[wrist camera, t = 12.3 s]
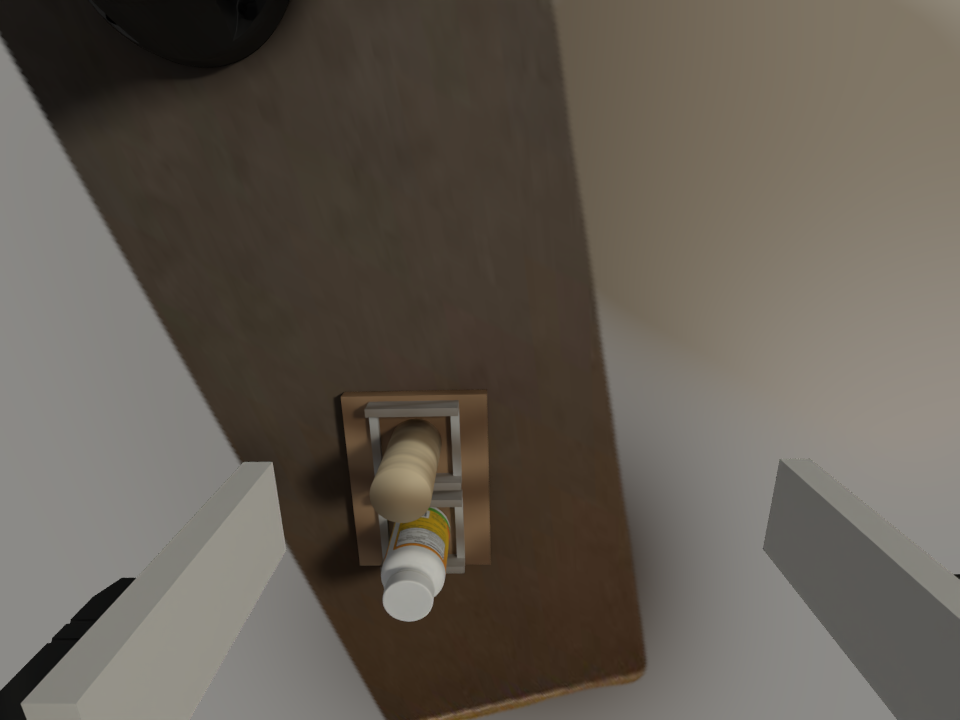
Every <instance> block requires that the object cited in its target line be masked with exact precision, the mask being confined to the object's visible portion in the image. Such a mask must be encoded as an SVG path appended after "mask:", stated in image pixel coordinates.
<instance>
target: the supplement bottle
mask: <svg viewBox="0 0 960 720" xmlns="http://www.w3.org/2000/svg"><path fill="white" fill-rule="evenodd" d="M449 538H450V524H449V521H448V519H447V517H446V516H445V514H444V513H443V512H442V511H441V510H439V509H438V508H436V507H431V508H428V510H427V512H426V513H425V514H424V515H423V516H422V517H420V518H419V519H417V520H415V521H412V522H408V523H397V522H395V524H394V527H393V531H392V534H391V538H390V541H389V545H388V548H387V552H386V555H385V558H384V562H383V566H382V570H381V579H382V584H383V586H384V588H385V589H384V594H383V605H384V608H385V609H386V611H387V612H388V613H389V614H390V615H391V616H392V617H394V618H396V619H398V620H401V621H416V620H419V619H421V618H423V617H425V616H426V615H427V614H428V613H429V612H430V610H431V608H432V606H433V600H434V597H435V596H436V595H437V594H438V593H439V592H440V590H441V589H442V587H443V584H444V581H445V574H446V565H447V557H448V547H449Z"/></svg>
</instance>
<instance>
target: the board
mask: <svg viewBox="0 0 960 720" xmlns="http://www.w3.org/2000/svg"><path fill="white" fill-rule="evenodd" d="M341 404H342V413H343V422H344V431H345V439H346V448H347V457H348V465H349V474H350V483H351V491H352V500H353V509H354V518H355V526H356V535H357V544H358V552H359V561H360V566H378V565H381V567H380V569H381V570H382V566H383V562H384V558H385V555H386V552H387V548H388V545H389V541H390V538H391V534H392V531H393V527H394V524H395V522H392V521H389V520H387V519H385V518H383V517H382V516H380V515H379V514H378V513H377V512H376V511H375V509H374V508H373V506H372V504H371V501H370V488H371V485H372V482H373V480H374V478H375V475H376V473H377V470H378V468H379V465H380V463H381V461H382V458H383V456H384V453H385V451H386V448H387V446H388V444H389V441H390V439H391V436H392V434H393V432H394V430H395V428H396V427H397V426H398V425H399V424H400V423H402V422H403V421H405V420H408V419H415V418H416V419H423V420H426V421H428V422H430V423H432V424H433V425H434V426H435V427H436V428H437V429H438V431H439V433H440V435H441V439H442V446H441V451H440V457H439V462H438V467H437V472H436V478H435V483H434V488H433V493H432V499H431V504H430V506H429V508H431V507H436V508H438V509H439V510H441V511H442V512H443V513H444V514H445V516H446V517H447V519H448V521H449V524H450V538H449V547H448V557H447V565H446V573H465V565H471V564H491V549H490V505H489V461H488V416H487V389H486V390H431V391H377V392H344V393H343V394H342V396H341Z"/></svg>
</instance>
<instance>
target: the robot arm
mask: <svg viewBox="0 0 960 720" xmlns="http://www.w3.org/2000/svg"><path fill="white" fill-rule="evenodd" d="M89 1H90V3H91V4H92V5H93V6H94V8H95V9H96V10H97V11H98V12H99V13H100V15H101V16H102V17H103V18H104V19H105V20H106V21H107V22H108V23H109V24H110V25H111V26H113V27H114V28H115V29H116V30H117V31H118V32H120V33H121V34H122V35H124V36H125V37H126V38H128V39H129V40H131V41H132V42H133V43H135V44H137V45H138V46H140V47H142V48H144V49H146V50H148V51H150V52H152V53H154V54H157V55H159V56H161V57H163V58H166V59H168V60H170V61H173V62H176V63H179V64H183V65H187V66H193V67H217V66H223V65H227V64H230V63H233V62H236V61H238V60H241V59H243V58H245V57H246V56H248V55H250V54H251V53H253V52H254V51H255V50H257V49H258V48H259V47H260V46H261V45H262V44H263V43H264V42H265V41H266V40H267V39H268V38H269V37H270V36H271V35H272V33H273V32H274V30H275V29H276V27H277V26H278V24H279V22H280V21H281V19H282V17H283V15H284V12H285V10H286V7H287V5H288V2H289V0H89ZM763 549H764V551H765V552H766V553H767V555H768V556H769V557H770V559H771V560H772V561H773V562H774V563H775V565H776V566H777V567H778V568H779V570H780V571H781V572H782V574H783V575H784V576H785V577H786V579H787V580H788V581H789V583H790V584H791V585H792V586H793V588H794V589H795V590H796V592H797V593H798V594H799V595H800V597H801V598H802V599H803V600H804V602H805V603H806V604H807V605H808V607H809V608H810V609H811V611H812V612H813V613H814V614H815V616H816V617H817V618H818V619H819V621H820V622H821V623H822V625H823V626H824V627H825V628H826V630H827V631H828V632H829V633H830V635H831V636H832V637H833V639H834V640H835V641H836V642H837V644H838V645H839V646H840V647H841V649H842V650H843V651H844V652H845V654H846V655H847V656H848V658H849V659H850V660H851V661H852V663H853V664H854V665H855V666H856V668H857V669H858V670H859V671H860V673H861V674H862V675H863V677H864V678H865V679H866V680H867V682H868V683H869V684H870V686H871V687H872V688H873V689H874V691H875V692H876V693H877V694H878V696H879V697H880V698H881V699H882V701H883V702H884V703H885V705H886V706H887V707H888V708H889V710H890V711H891V712H892V713H893V715H894V716H895V717H896V719H897V720H960V574H952V573H951V572H950V571H948V570H947V569H946V568H945V567H943V566H942V565H941V564H940V563H938V562H937V561H936V560H935V559H933V558H932V557H931V556H930V555H929V554H927V553H926V552H925V551H924V550H922V549H921V548H920V547H919V546H917V545H916V544H915V543H914V542H912V541H911V540H910V539H909V538H907V537H906V536H905V535H904V534H902V533H901V532H900V531H899V530H897V529H896V528H895V527H894V526H893V525H891V524H890V523H889V522H888V521H886V520H885V519H884V518H882V517H881V516H880V515H879V514H878V513H877V512H875V511H874V510H873V509H872V508H870V507H869V506H868V505H866V504H865V503H864V502H863V501H862V500H860V499H859V498H858V497H857V496H855V495H854V494H853V493H852V492H850V491H849V490H848V489H847V488H845V487H844V486H843V485H842V484H841V483H839V482H838V481H837V480H836V479H834V478H833V477H832V476H831V475H829V474H828V473H827V472H826V471H824V470H823V469H822V468H821V467H819V466H818V465H817V464H816V463H815V462H813V461H812V460H811V459H780V461H779V466H778V472H777V477H776V482H775V487H774V493H773V498H772V504H771V509H770V514H769V520H768V525H767V530H766V536H765V541H764V547H763ZM285 552H286V546H285V539H284V533H283V527H282V520H281V514H280V507H279V501H278V494H277V488H276V482H275V475H274V469H273V462H243V463H242V464H241V465H240V466H239V467H238V468H237V470H236V471H235V472H234V473H233V474H232V475H231V476H230V477H229V478H228V479H227V481H225V483H224V484H223V485H222V486H221V487H220V488H219V489H218V490H217V491H216V493H214V494H213V496H212V497H211V498H210V499H209V500H208V501H207V502H206V503H205V504H204V505H203V506H202V507H201V509H200V510H199V511H198V512H197V513H196V514H195V515H194V516H193V517H192V518H191V519H190V521H189V522H188V523H187V524H186V525H185V526H184V527H183V528H182V529H181V530H180V531H179V533H177V535H176V536H175V537H174V538H173V539H172V540H171V541H170V542H169V543H168V544H167V545H166V547H165V548H164V549H163V550H162V551H161V552H160V553H159V554H158V555H157V556H156V558H154V560H153V561H152V562H151V563H150V564H149V565H148V566H147V567H146V568H145V569H144V570H143V572H142V573H141V574H140V575H139V576H138V577H137V578H121V579H119V580H118V581H117V582H115V583H113V584H112V585H110V586H109V587H107V588H106V589H104V590H103V591H101V592H100V593H98V594H97V595H95V596H94V597H92V598H91V600H90V601H89V602H88V603H87V604H86V605H85V606H84V607H83V608H82V609H81V610H80V611H79V612H78V613H77V614H76V615H75V616H74V617H73V618H72V619H71V622H70V624H66V625H65V626H64V627H63V628H62V629H61V630H60V631H59V632H58V633H57V634H56V635H55V636H54V637H53V638H52V642H51V643H47V644H46V645H45V646H44V647H43V648H42V649H41V650H40V651H39V652H38V653H37V654H36V655H35V656H34V657H33V658H32V659H31V660H30V661H29V662H28V663H27V664H26V665H25V666H24V667H23V668H22V669H21V670H20V671H19V672H18V673H17V674H16V676H15V677H14V678H12V680H10V682H9V683H8V684H7V685H6V686H5V687H4V688H3V689H2V690H1V691H0V720H190V718H191V716H192V715H193V713H194V711H195V710H196V708H197V706H198V704H199V702H200V700H201V699H202V697H203V695H204V694H205V692H206V690H207V688H208V687H209V685H210V683H211V681H212V680H213V678H214V676H215V674H216V673H217V671H218V669H219V667H220V665H221V664H222V662H223V660H224V659H225V657H226V655H227V653H228V652H229V650H230V648H231V646H232V645H233V643H234V641H235V639H236V638H237V636H238V634H239V632H240V630H241V629H242V627H243V625H244V624H245V622H246V620H247V618H248V617H249V615H250V613H251V611H252V610H253V608H254V606H255V604H256V603H257V601H258V599H259V597H260V595H261V594H262V592H263V590H264V588H265V587H266V585H267V583H268V581H269V580H270V578H271V576H272V574H273V573H274V571H275V569H276V567H277V566H278V564H279V562H280V560H281V559H282V557H283V555H284V553H285Z"/></svg>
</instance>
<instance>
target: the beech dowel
mask: <svg viewBox="0 0 960 720" xmlns="http://www.w3.org/2000/svg"><path fill="white" fill-rule="evenodd" d="M441 446H442V439H441V435H440V433H439V431H438V429H437V428H436V427H435V426H434V425H433V424H432V423H430V422H428V421H426V420H423V419H416V418H415V419H408V420H405V421H403V422H402V423H400V424H399V425H398V426H397V427H396V428H395V430H394V432H393V434H392V436H391V439H390V441H389V444H388V446H387V448H386V451H385V453H384V456H383V458H382V461H381V463H380V465H379V468H378V470H377V473H376V475H375V478H374V480H373V482H372V485H371V488H370V501H371V504H372V506H373V508H374V509H375V511H376V512H377V513H378V514H379V515H380V516H382V517H383V518H385V519H387V520H389V521H392V522H397V523H408V522H412V521H415V520H417V519H419V518H420V517H422V516H423V515H424V514H425V513H426V512H427V510H428V508H429V506H430V504H431V499H432V493H433V488H434V483H435V478H436V472H437V467H438V462H439V457H440V451H441Z"/></svg>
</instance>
